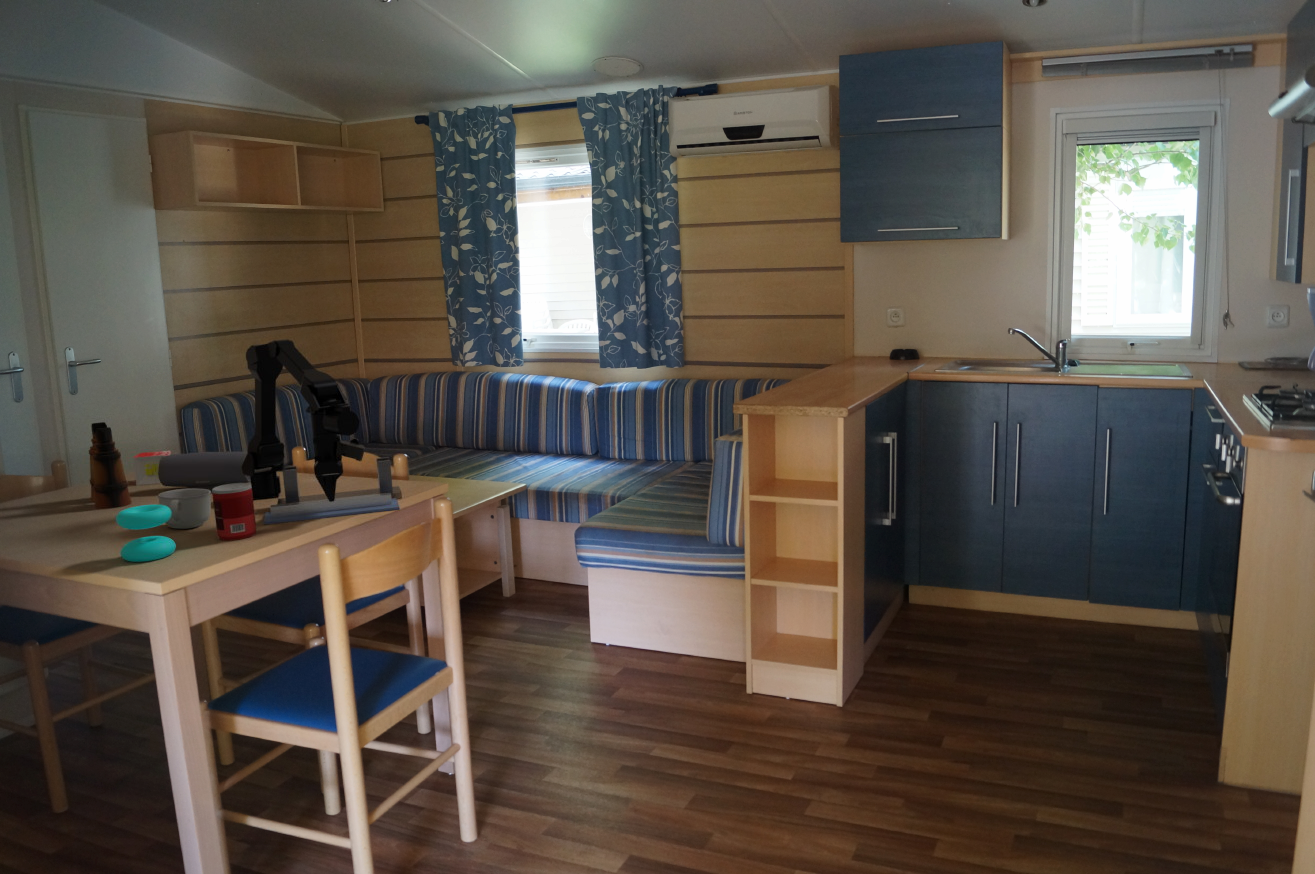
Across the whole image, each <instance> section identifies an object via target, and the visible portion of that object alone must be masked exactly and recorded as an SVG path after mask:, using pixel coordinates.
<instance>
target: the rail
mask: <svg viewBox="0 0 1315 874" xmlns="http://www.w3.org/2000/svg"><path fill="white" fill-rule="evenodd" d="M390 504H392V500H391V493H381V494H372V495H362V496H353V497H343V498H335V500H334V501H333V502H329V500H328V499H325V500H315V501H306V502H296V503H287V504H270V508H269V509H270V512H271V518H272V517H281V516H290V515H299V514H308V513H317V512H326V511H335V510H344V509H354V508H363V507H372V506H381V505H390Z"/></svg>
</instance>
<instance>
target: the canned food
mask: <svg viewBox="0 0 1315 874" xmlns="http://www.w3.org/2000/svg"><path fill="white" fill-rule="evenodd" d="M211 494H212V504H213V509H214V510H213V511H214V518H215V528H216V535H217V537H218V539H219V540H221V541H225V542H226V541H239V540H243V539H248V538H251V537H252V536H254V535H256V532H257V524H256V523H257V522H256V513H255V507H254V499H253V494H252V487H251V483H233V484H226V485H221V486H217V487H215V488H213V489H211Z"/></svg>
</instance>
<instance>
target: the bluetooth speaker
mask: <svg viewBox="0 0 1315 874" xmlns="http://www.w3.org/2000/svg"><path fill="white" fill-rule="evenodd" d="M247 453H248V451H203V452H201V451H200V452H190V453H189V452H188V453H187V452H186V453H178V454H171V455H167V456H163V457H162V458H161V459H160V462H159V468H158V477H159V480H160V482H161V483H160V484H161V485H162V486H164V487H174V488H187V489H207V490H210V491H212V489H213V488H215V487H217V486H221V485H226V484H233V483H249V484H251V480H250V476H248V475H244V474H243V471H242V464H243V462H244V460H245V458H246V455H247Z"/></svg>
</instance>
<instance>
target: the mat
mask: <svg viewBox="0 0 1315 874" xmlns="http://www.w3.org/2000/svg"><path fill="white" fill-rule="evenodd" d="M391 500H392V504H390V505H381V506H372V507H363V508H354V509H344V510H335V511H326V512H317V513H308V514H299V515H290V516H281V517H272V518H271V511H266V512H265V515H264V518H263V525H271V524H273V525H274V524H281V523H282V524H283V523H290V522H299V521H308V520H309V521H310V520H317V519H326V518H336V517H344V516H353V515H361V514H362V515H363V514H371V513H381V512H389V511H397V510H398V511H399V510H400V509H401V508H400V505H399V501H398V500H397V499H396V498H394V499H391Z"/></svg>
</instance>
